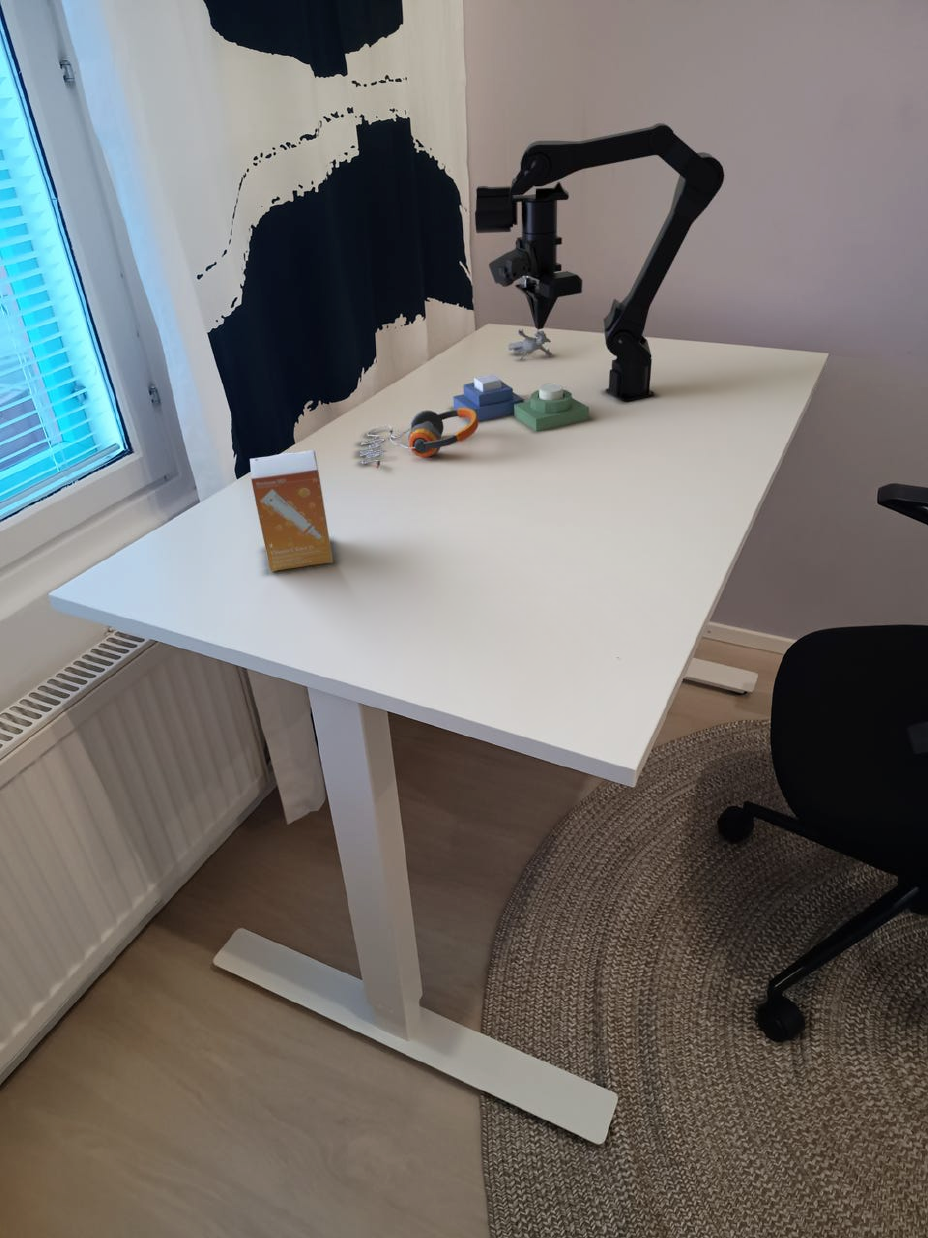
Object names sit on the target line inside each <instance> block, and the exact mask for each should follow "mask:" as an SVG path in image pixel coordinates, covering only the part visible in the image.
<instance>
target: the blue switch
mask: <svg viewBox="0 0 928 1238" xmlns="http://www.w3.org/2000/svg"><path fill="white" fill-rule="evenodd" d="M462 387H463V394H458V395H454V396H452V399H453V410H458V409H459V408H468V409H472V410H473V411H475V413H476V415H477V417H478V423H479V422H483V421H488V420H492V419H493V420H494V419H497V418H503V417H505V416H510V415H514V404H518V403H523V402H525V399H524V397H522V396H520V395H518V394H517V393H516V392H514V388H513V387H511V386H510V385H508V384H507V383H505V382H504V381H502V380H501V387H502V388H501V389H496V390H491V391H486V392H481V391H479V390H478V389H477V388H475V387H474V382H470V383H465V384H463V385H462ZM466 419H467V420H468V421H469V422H470V421H471V419H469V418H466Z"/></svg>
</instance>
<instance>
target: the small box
mask: <svg viewBox="0 0 928 1238" xmlns="http://www.w3.org/2000/svg"><path fill="white" fill-rule="evenodd" d="M249 466H250V480H251V486H252V492H253V497H254V502H255V507H256V512H257V516H258V520H259V526H260V530H261V534H262V541H263V545H264V549H265V554H266V558H267V563H268V568H269V572H271V573H272V572H277V571H282V570H283V571H284V570H288V569H294V568H295V569H296V568H301V567H307V566H314V565H320V564H329V563H330V564H331V563H333V561H334V559H333V553H332V548H331V541H330V535H329V527H328V522H327V515H326V509H325V503H324V496H323V490H322V484H321V477H320V472H319V466H318V460H317V455H316V451H315V449H311V450H304V451H297V452H287V453H279V454H274V455H268V456H261V457H254V458H249Z"/></svg>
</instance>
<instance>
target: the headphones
mask: <svg viewBox="0 0 928 1238" xmlns="http://www.w3.org/2000/svg"><path fill="white" fill-rule="evenodd" d="M457 417H458V418H465V419H467V418H469V419H471V421H469V422H468V424H466V426H464V427H463V428H462V429H460V430H459V431H457V432H456V433H455V434H454V435H452V436H449V437H446V438H442V435H443V432H444V421H443V420H447V419H451V418H457ZM386 427H387V428H390V430H389V441H390V442H391V443H392V444H394V445H396V446H401V447H403V448H405V449H410V450H411V452H412V453H413V454H414V455H415V456H418V457H420V458H428V457H432V456H435V455H436V454H437V453H438V452H439V451H440V449H441V448H443V447H448V446H450V445H453V444H455V443H458V442H459V443H462V442H463V441H465V440H467V439H468V438H470V437H471V436H472V435H473V434H475V432H476V431H477V429H478V427H479V422H478V417H477V415H476V413H475V411H473V410H472V409H468V408H459V409H458V410H455V409H452V410H448V411H447V410H446V411H444V412H441V413H436V412H435V411H432V410H422V411H419V412H418V413H416V414H415V415H414V417H413V418H412V420H411V422H410V428H408V429H407V430H405V431H404V432H402V433H401V434H399V435H397V436H394V435H393V432H394V431H393V427H392V425H380V426H377V427H375V428H373V429H370V431H368V432H367V436H368V437H375V438H373V439H370V440H367V441H363V442H361V443H360V444H361V446H363V445H364V446H365V445H368V448H364V449H362V450H360V452H359V453H360V454H359V456H360V457H365V458H363V460H361V464H363V465H365V464H370V463H375V462H376V469H378V468H379V466H380V465H381V461H380V460H379V459H374V460H370V459H373V458H377V457H380V456H381V453H385V452H386V449H385V448H383V449H378V448H380V447H381V444H383V443H385V442H386V441H385V439H381V438H380V439H379V437H380V436H379V435H378V434H371V433H372V432H374V431H376V430H378V429H380V428H386ZM408 432H409V433H408ZM406 433H408V438H407V439H408V446H405V445H404V444H401V443H396V442H395V441H393V440H392V438H393V439H398V438H401V437H403V436H404V435H405V434H406ZM374 449H377V450H374ZM366 460H370V461H366Z"/></svg>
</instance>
